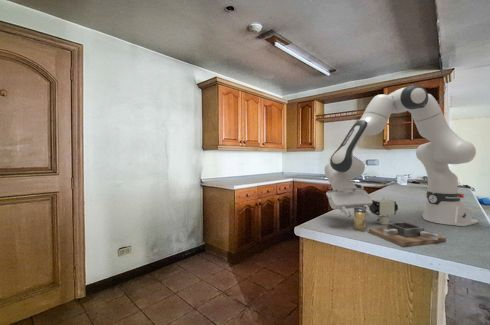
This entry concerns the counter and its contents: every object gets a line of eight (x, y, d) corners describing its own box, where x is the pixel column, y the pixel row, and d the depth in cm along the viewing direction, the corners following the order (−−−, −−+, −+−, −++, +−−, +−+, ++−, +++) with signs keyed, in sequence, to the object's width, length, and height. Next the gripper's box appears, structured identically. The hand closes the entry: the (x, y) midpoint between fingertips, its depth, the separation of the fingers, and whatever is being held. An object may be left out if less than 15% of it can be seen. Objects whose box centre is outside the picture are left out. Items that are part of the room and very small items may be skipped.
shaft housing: (406, 228, 101) (406, 218, 101) (449, 242, 85) (449, 230, 85) (368, 232, 97) (368, 221, 97) (405, 248, 80) (406, 235, 80)
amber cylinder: (360, 227, 103) (360, 207, 103) (367, 230, 99) (368, 210, 98) (351, 228, 102) (351, 208, 102) (358, 231, 98) (359, 210, 97)
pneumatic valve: (398, 224, 107) (398, 199, 107) (375, 225, 106) (375, 199, 105) (389, 221, 113) (389, 196, 112) (367, 222, 111) (367, 197, 111)
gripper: (327, 186, 105) (341, 213, 96) (365, 185, 110) (381, 210, 101) (322, 194, 110) (334, 220, 101) (358, 193, 115) (373, 217, 105)
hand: (358, 215), depth 101 cm, fingers open, 8 cm apart
